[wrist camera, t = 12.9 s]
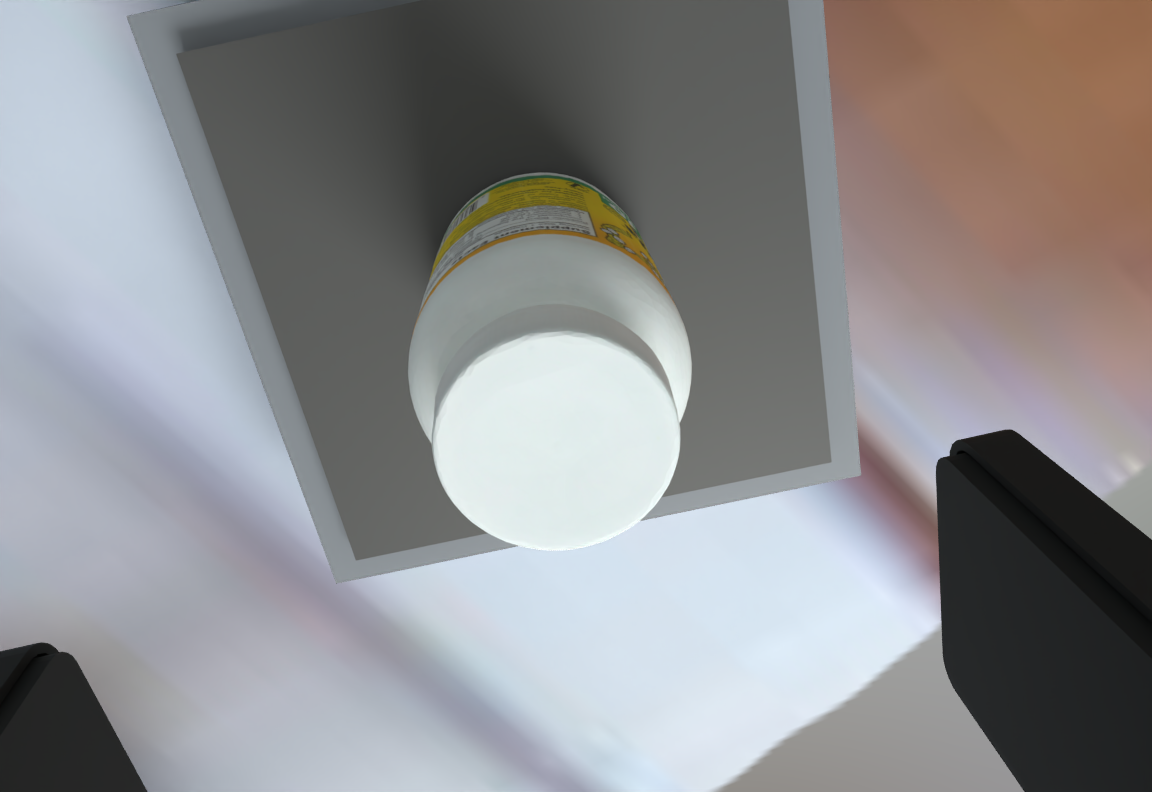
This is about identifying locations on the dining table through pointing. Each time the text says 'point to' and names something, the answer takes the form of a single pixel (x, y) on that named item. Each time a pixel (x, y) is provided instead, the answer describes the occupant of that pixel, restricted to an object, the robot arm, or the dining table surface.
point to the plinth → (482, 158)
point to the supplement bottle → (549, 365)
